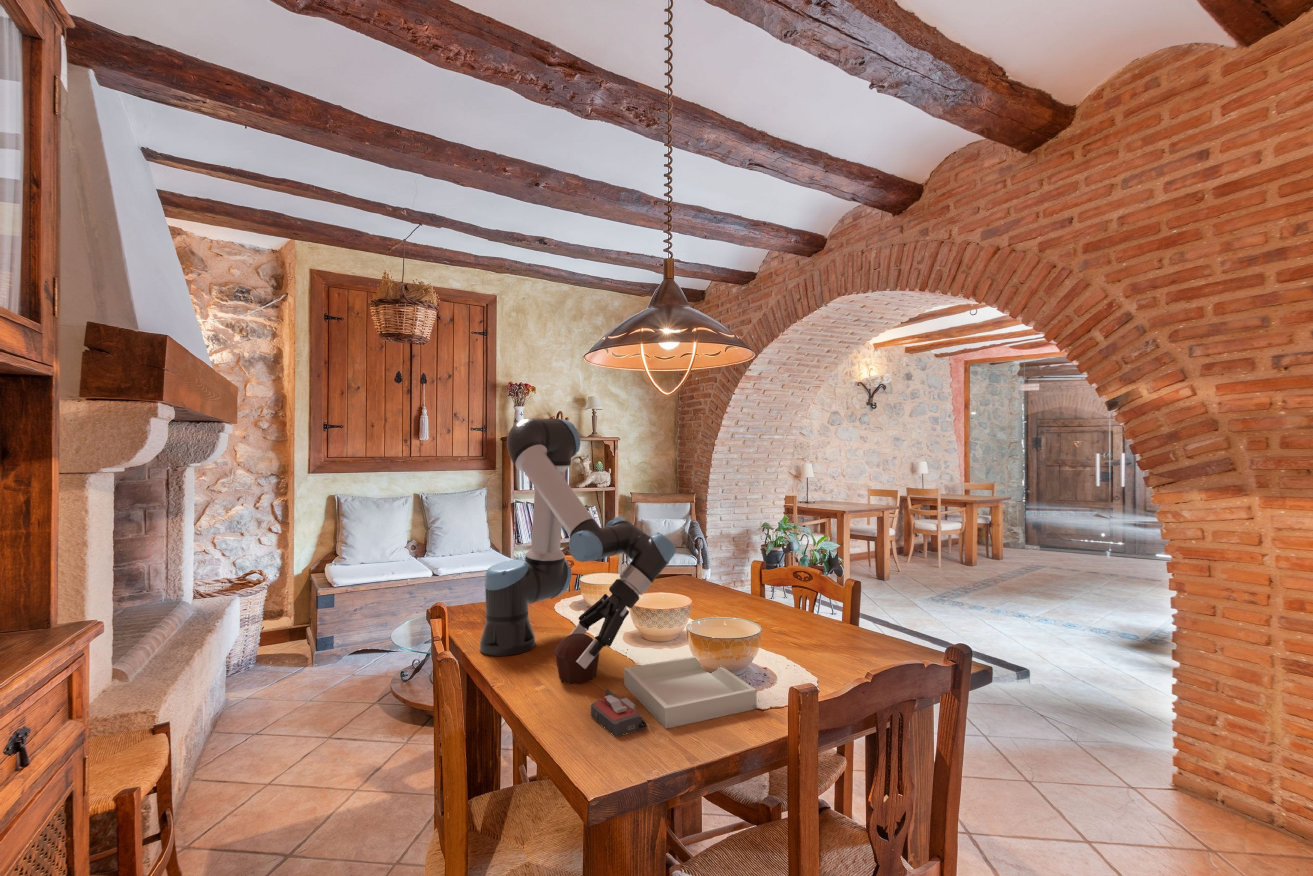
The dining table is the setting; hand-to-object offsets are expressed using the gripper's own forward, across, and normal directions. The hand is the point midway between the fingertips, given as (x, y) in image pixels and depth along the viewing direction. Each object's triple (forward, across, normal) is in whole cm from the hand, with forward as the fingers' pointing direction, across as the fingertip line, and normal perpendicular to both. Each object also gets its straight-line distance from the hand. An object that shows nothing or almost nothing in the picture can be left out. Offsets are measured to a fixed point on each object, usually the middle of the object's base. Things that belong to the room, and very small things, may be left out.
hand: (572, 656), depth 147 cm
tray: (-10, -22, -18) cm, 30 cm away
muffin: (+3, 0, -5) cm, 6 cm away
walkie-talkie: (+3, -23, -6) cm, 24 cm away
